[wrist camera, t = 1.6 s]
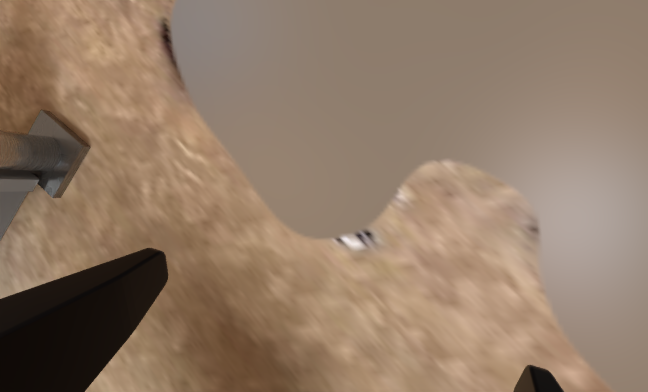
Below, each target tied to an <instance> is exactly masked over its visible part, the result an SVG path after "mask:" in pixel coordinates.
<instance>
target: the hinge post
mask: <svg viewBox="0 0 648 392" xmlns="http://www.w3.org/2000/svg"><path fill="white" fill-rule="evenodd" d="M89 149H90V147H89V146H88V145H87V144H86V143H85V142H84V141H83V140H81V139H80V138H79V137H78V136H77V135H76V134H75V133H73V132H72V131H71V130H70V129H69V128H68V127H67V126H65V125H64V124H63V123H62V122H61V121H60V120H59V119H57V118H56V117H55V116H54V115H53V114H52V113H51V112H49V111H45V110H41V111H40V113H39V115H38V116H37V118H36V120H35V122H34V124H33V125H32V127H31V129H30V131H29V133H28V134H25V133H17V132H10V131H2V130H0V169H10V170H29V171H30V172H32V173H33V174H34V175H35V176H36V177H37V178H38V179H39V181H38V183H37V184H38V185H39V186H41V187H42V188H43V189H44V190H45V191H46V192H47V193H48V194H49V195H50V196H51V197H52V198H61V196H62V194H63V192H64V191H65V189H66V187H67V186H68V184H69V182H70V181H71V179H72V177H73V176H74V174H75V172H76V171H77V169H78V167H79V165H80V164H81V162H82V160H83V159H84V157H85V155H86V154H87V152H88V150H89Z"/></svg>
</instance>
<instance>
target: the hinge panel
mask: <svg viewBox="0 0 648 392" xmlns="http://www.w3.org/2000/svg"><path fill="white" fill-rule="evenodd" d="M38 181H39V179H38V178H37V177H36V176H35V175H34V174H33V173H32V172H30V171H29V170H10V169H0V240H1V238H2V237H3V235H4V233H5V231H6V230H7V228H8V226H9V224H10V223H11V221H12V219H13V217H14V216H15V214H16V212H17V210H18V209H19V207H20V205H21V203H22V202H23V200H24V198H25V196H26V195H27V193H28V191H33V190H34V188H35V186H36V185H37V183H38Z"/></svg>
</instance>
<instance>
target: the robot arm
mask: <svg viewBox="0 0 648 392" xmlns="http://www.w3.org/2000/svg"><path fill="white" fill-rule="evenodd" d="M167 280H168V269H167V262H166V256H165V254H164V252H163V251H160V250H157V249H154V248H146V249H143V250H141V251H138V252H135V253H132V254H129V255H126V256H123V257H120V258H117V259H115V260H112V261H109V262H106V263H103V264H100V265H97V266H94V267H91V268H89V269H86V270H83V271H80V272H77V273H74V274H71V275H68V276H65V277H63V278H60V279H57V280H54V281H51V282H48V283H45V284H42V285H39V286H37V287H34V288H31V289H28V290H25V291H22V292H19V293H16V294H13V295H10V296H8V297H5V298H2V299H0V392H85V390H86V389H87V388H88V387H89V386H90V384H91V383H92V382H93V381H94V379H95V378H96V377H97V376H98V375H99V373H100V372H101V371H102V370H103V369H104V367H105V366H106V365H107V364H108V362H109V361H110V360H111V359H112V358H113V356H114V355H115V354H116V353H117V351H118V350H119V349H120V348H121V347H122V345H123V344H124V343H125V342H126V341H127V339H128V338H129V337H130V335H131V334H132V333H133V332H134V330H135V329H136V327H137V326H138V325H139V323H140V322H141V320H142V319H143V317H144V316H145V314H146V313H147V311H148V310H149V308H150V307H151V305H152V304H153V302H154V301H155V299H156V298H157V296H158V295H159V293H160V292H161V290H162V289H163V287H164V286H165V284H166V282H167ZM514 392H564V391H563V390H562V388H561V387H560V385H559V384H558V382H557V381H556V379H555V378H554V376H553V375H552V374H551V373H550V372H549V371H548V370H546V369H543V368H540V367H536V366H533V365H527V366H526V367H525V369H524V371H523V373H522V375H521V377H520V379H519V380H518V382H517V384H516V386H515V388H514Z"/></svg>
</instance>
